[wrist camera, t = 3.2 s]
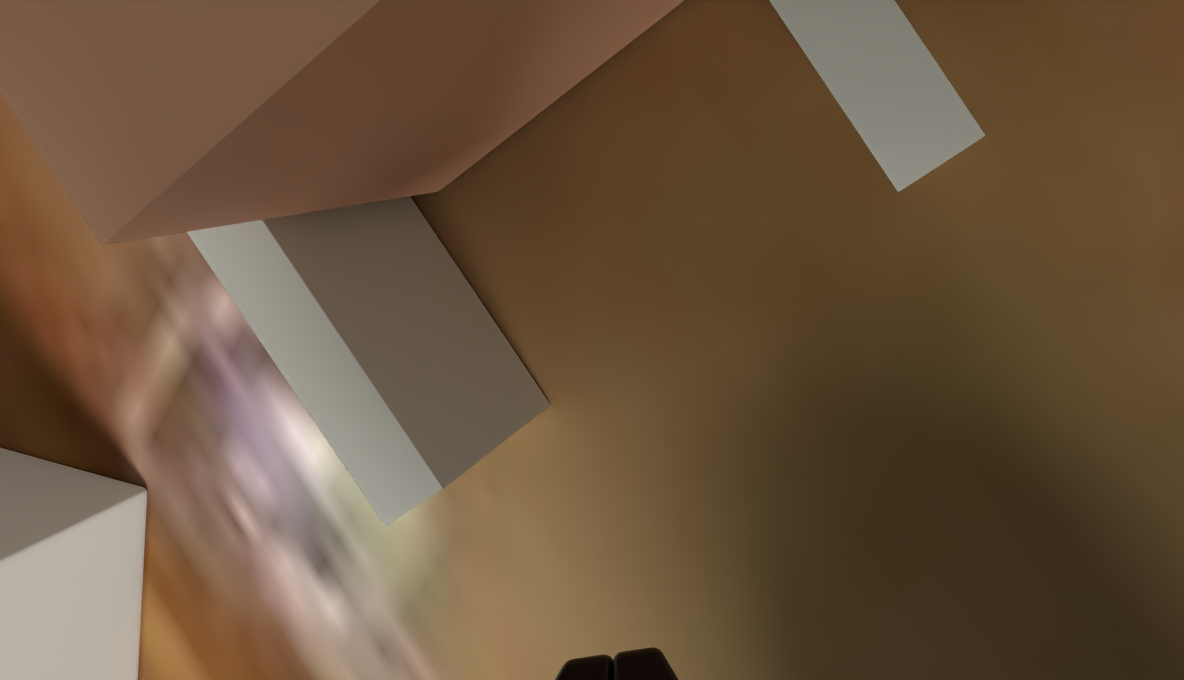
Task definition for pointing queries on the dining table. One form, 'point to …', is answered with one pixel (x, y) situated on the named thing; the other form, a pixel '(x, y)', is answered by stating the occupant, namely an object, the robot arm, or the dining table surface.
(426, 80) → the block
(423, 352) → the chute
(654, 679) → the robot arm
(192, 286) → the dining table surface
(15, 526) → the milk
